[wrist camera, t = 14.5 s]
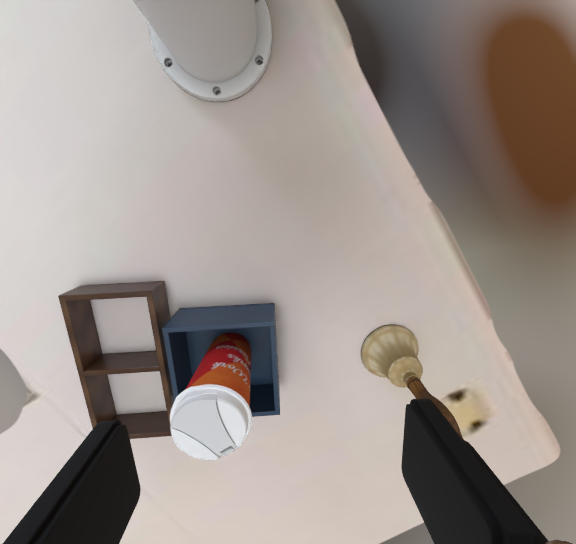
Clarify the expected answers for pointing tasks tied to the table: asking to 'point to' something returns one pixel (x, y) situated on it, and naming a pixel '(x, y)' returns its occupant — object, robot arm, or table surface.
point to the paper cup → (215, 401)
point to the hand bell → (399, 363)
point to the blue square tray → (207, 327)
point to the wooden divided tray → (118, 354)
